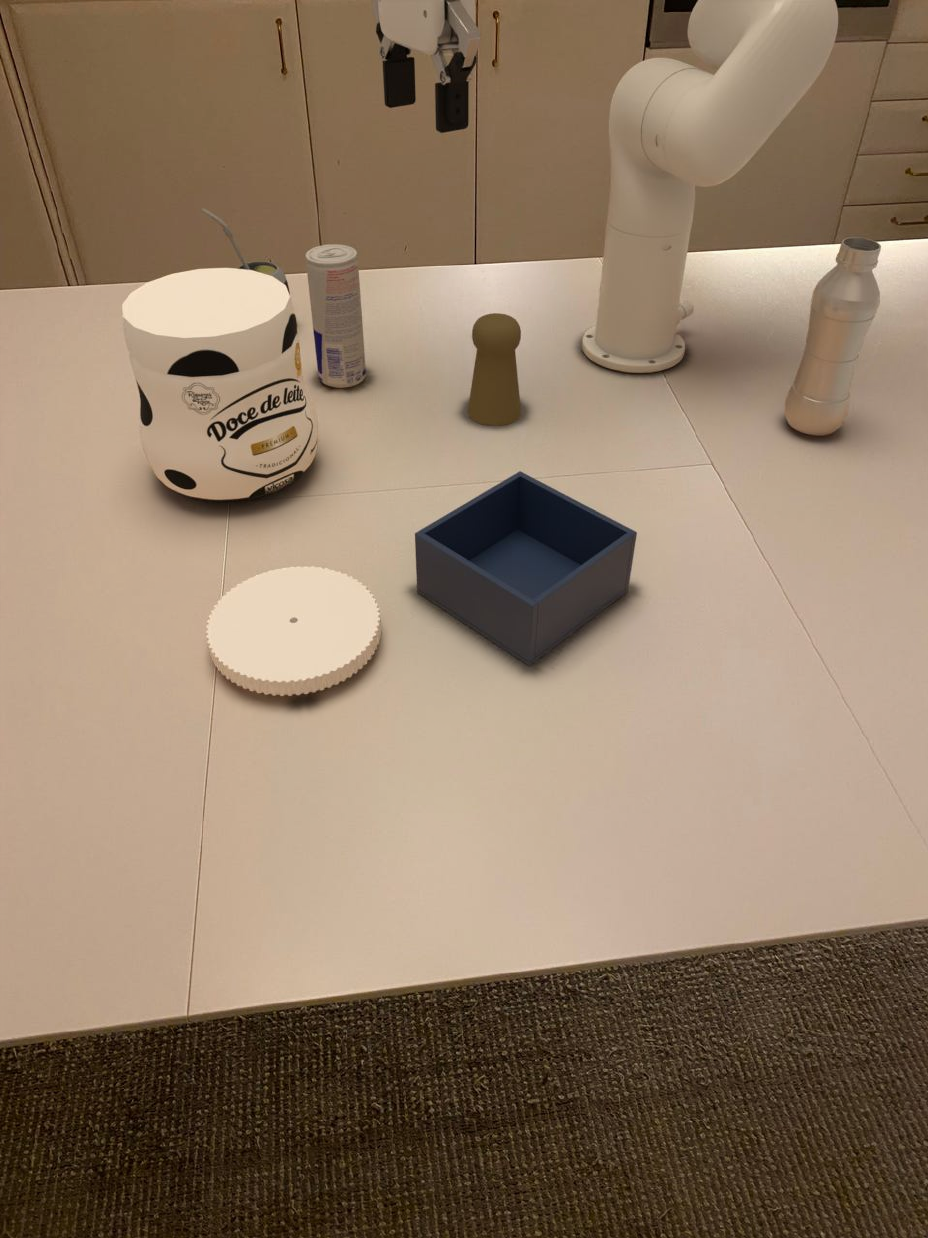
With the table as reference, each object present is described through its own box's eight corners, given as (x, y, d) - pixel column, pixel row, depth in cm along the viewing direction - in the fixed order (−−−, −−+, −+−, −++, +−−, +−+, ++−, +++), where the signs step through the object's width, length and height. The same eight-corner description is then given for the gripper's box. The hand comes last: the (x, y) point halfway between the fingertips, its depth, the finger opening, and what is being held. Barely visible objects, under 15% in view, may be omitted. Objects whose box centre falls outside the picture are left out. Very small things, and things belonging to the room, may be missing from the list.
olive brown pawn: (516, 428, 104) (520, 333, 97) (462, 422, 105) (462, 328, 98) (525, 401, 109) (529, 308, 101) (473, 395, 110) (474, 303, 102)
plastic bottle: (809, 449, 101) (862, 262, 88) (766, 419, 106) (811, 238, 92) (854, 434, 104) (913, 250, 90) (810, 406, 108) (860, 227, 95)
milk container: (293, 526, 91) (267, 351, 79) (123, 508, 93) (72, 334, 81) (341, 432, 103) (325, 269, 91) (191, 418, 106) (155, 256, 94)
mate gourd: (303, 333, 121) (289, 212, 111) (246, 349, 118) (226, 226, 108) (277, 312, 126) (261, 194, 116) (221, 327, 122) (200, 207, 112)
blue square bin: (517, 528, 91) (519, 470, 86) (628, 591, 84) (637, 532, 80) (416, 592, 84) (414, 533, 79) (529, 666, 77) (533, 606, 73)
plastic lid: (385, 587, 84) (383, 564, 83) (377, 703, 74) (375, 680, 72) (226, 589, 84) (221, 566, 82) (196, 706, 74) (190, 683, 72)
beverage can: (374, 373, 114) (366, 247, 103) (351, 394, 110) (340, 265, 100) (334, 363, 115) (322, 238, 105) (309, 384, 111) (295, 256, 101)
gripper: (515, -102, 75) (509, 133, 86) (408, -120, 86) (414, 91, 97) (433, -96, 72) (438, 147, 83) (332, -116, 83) (348, 101, 94)
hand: (425, 117), depth 90 cm, fingers open, 9 cm apart
